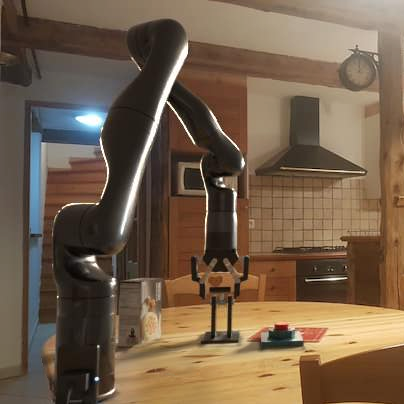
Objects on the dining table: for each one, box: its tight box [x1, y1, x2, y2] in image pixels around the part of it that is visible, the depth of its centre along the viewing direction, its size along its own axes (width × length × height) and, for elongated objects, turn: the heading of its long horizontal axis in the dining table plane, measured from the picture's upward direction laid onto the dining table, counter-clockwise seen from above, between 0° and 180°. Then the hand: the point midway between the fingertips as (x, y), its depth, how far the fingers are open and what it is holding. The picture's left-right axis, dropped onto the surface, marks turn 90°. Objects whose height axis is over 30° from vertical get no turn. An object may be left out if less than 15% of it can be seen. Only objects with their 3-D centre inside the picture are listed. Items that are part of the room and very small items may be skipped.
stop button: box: [273, 321, 290, 331], centre depth 130 cm, size 4×4×2 cm
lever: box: [208, 286, 232, 309], centre depth 130 cm, size 12×5×2 cm, turn 12°
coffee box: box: [117, 277, 163, 348], centre depth 131 cm, size 9×6×16 cm
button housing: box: [260, 326, 305, 349], centre depth 130 cm, size 12×10×4 cm
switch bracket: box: [200, 293, 241, 344], centre depth 134 cm, size 12×9×12 cm
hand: (219, 298), depth 126 cm, fingers open, 7 cm apart
